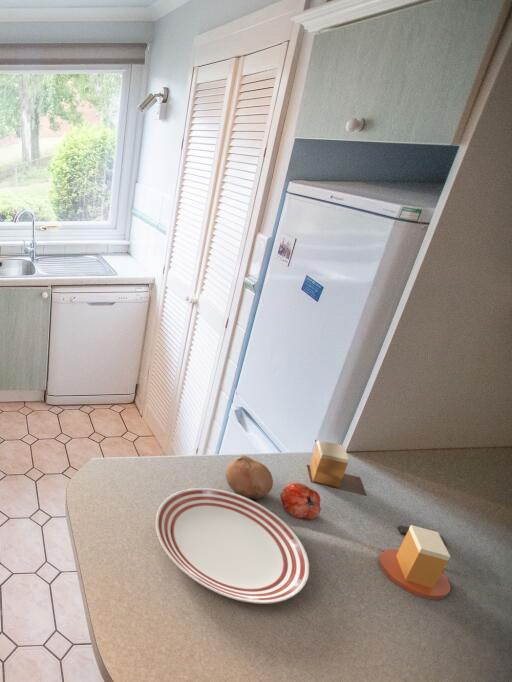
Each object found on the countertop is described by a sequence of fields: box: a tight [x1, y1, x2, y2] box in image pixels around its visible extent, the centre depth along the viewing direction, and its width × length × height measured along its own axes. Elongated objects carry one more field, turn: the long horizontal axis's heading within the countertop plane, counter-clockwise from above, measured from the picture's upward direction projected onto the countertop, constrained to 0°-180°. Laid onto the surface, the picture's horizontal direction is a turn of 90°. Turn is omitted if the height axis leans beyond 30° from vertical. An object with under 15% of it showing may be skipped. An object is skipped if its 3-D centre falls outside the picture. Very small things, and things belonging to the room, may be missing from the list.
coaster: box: [378, 548, 451, 600], centre depth 85 cm, size 10×10×1 cm
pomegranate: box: [279, 482, 322, 520], centre depth 98 cm, size 7×7×10 cm
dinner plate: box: [155, 487, 310, 605], centre depth 90 cm, size 28×27×3 cm
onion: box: [225, 454, 274, 501], centre depth 103 cm, size 10×9×10 cm
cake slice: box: [396, 524, 451, 588], centre depth 83 cm, size 4×6×8 cm, turn 154°
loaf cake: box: [306, 439, 368, 497], centre depth 106 cm, size 11×7×9 cm, turn 65°
